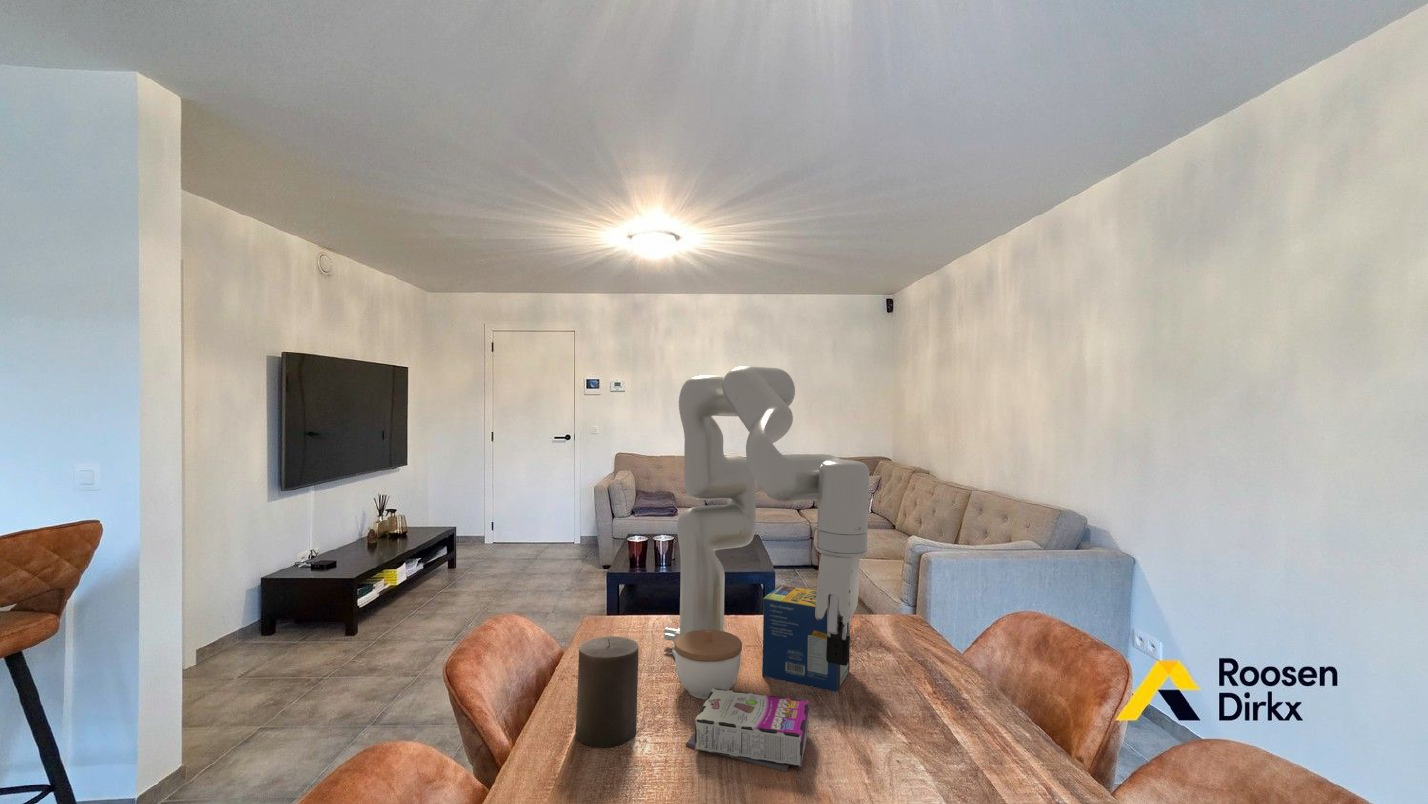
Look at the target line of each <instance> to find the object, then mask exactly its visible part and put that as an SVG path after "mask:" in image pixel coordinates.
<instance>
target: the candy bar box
mask: <svg viewBox="0 0 1428 804" xmlns="http://www.w3.org/2000/svg"><path fill="white" fill-rule="evenodd" d="M809 719H810V701H809V700H806V699H805V700H803V699H796V698H789V697H782V696H774V695H767V694H759V693H758V694H757V693H752V692H744V691H743V692H742V691H737V690H732V689H731V690H730V689H729V690H723V689H716V688H712V690H711V692H710V694H709V696H708V698H707V699H705V702H704V703H703V705H702V706H701V709H700V710H699V711H698V714H697V716H696V717H695V719H694V733H695V748H694V751H701V752H706V753H707V752H708V753H712V752H713V753H712V754H716V753H718V754H717V755H719V754H725V755H731V756H737V757H744V758H750V759H756V760H763V761H769V762H775V763H781V764H787V765H789V766H794V767H802V763H803V758H804V754H805V750H806V745H807V744H806V743H807V739H808V732H809V728H810V725H809V724H810V720H809Z"/></svg>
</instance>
